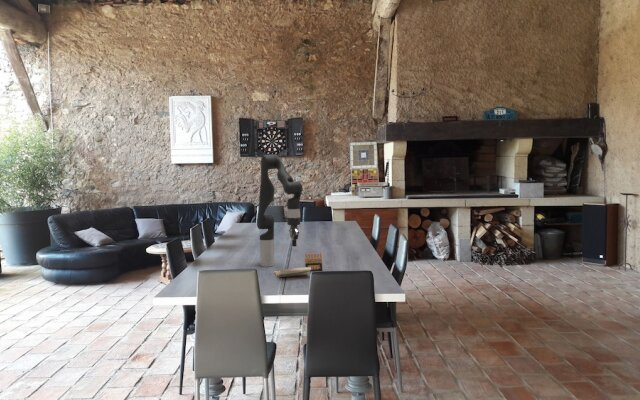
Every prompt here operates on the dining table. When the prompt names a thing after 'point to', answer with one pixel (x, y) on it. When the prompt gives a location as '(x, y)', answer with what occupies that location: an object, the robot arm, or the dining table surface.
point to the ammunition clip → (312, 264)
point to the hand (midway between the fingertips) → (294, 246)
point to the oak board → (276, 273)
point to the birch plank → (294, 272)
